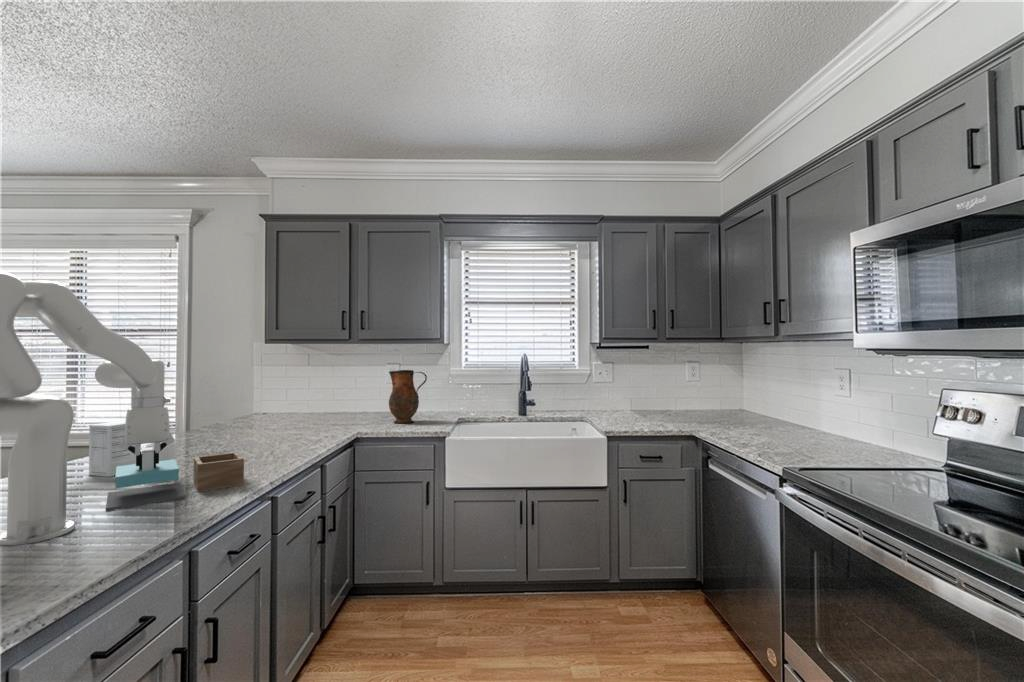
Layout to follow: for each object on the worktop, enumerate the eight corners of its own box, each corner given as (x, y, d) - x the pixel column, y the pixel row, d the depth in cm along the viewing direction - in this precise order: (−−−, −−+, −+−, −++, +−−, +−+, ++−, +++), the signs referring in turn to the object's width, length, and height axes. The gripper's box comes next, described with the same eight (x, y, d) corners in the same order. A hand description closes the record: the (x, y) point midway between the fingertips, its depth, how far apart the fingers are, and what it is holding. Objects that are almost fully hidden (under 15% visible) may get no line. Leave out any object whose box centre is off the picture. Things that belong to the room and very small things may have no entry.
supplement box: (138, 470, 163) (138, 421, 164) (109, 477, 155) (110, 425, 155) (116, 468, 166) (117, 420, 166) (87, 475, 157) (88, 424, 157)
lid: (178, 479, 134) (179, 451, 134) (115, 488, 126) (115, 458, 126) (175, 469, 145) (175, 442, 145) (116, 476, 136) (116, 449, 136)
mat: (184, 498, 134) (185, 495, 134) (105, 511, 123) (105, 508, 123) (180, 484, 147) (180, 482, 147) (108, 495, 136) (108, 492, 136)
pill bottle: (159, 484, 147) (160, 435, 148) (138, 482, 149) (138, 434, 149) (181, 477, 155) (182, 431, 155) (161, 475, 157) (162, 430, 157)
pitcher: (389, 420, 277) (390, 369, 278) (426, 420, 281) (426, 369, 281) (387, 425, 261) (387, 370, 261) (426, 424, 265) (426, 370, 265)
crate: (243, 484, 148) (244, 458, 148) (197, 491, 140) (198, 464, 140) (236, 476, 157) (237, 452, 157) (193, 482, 149) (193, 457, 150)
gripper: (181, 399, 143) (180, 460, 143) (111, 403, 133) (111, 469, 133) (183, 402, 137) (182, 465, 137) (110, 406, 127) (110, 475, 127)
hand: (147, 466), depth 135 cm, fingers closed on lid, 2 cm apart
